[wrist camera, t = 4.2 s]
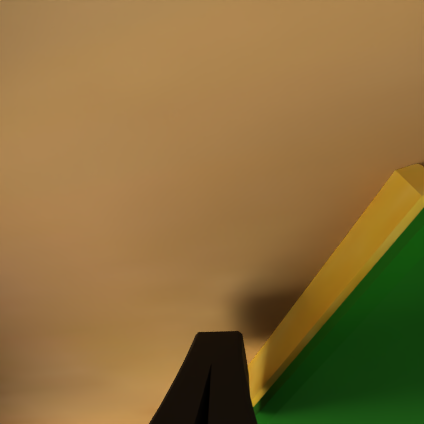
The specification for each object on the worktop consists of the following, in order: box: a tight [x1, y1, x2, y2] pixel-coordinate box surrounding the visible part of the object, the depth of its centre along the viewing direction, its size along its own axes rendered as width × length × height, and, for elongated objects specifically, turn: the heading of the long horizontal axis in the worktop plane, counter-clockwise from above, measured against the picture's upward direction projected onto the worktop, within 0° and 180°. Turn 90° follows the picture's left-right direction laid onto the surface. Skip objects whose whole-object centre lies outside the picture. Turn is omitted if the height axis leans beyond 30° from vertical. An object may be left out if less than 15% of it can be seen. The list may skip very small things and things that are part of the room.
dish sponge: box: [248, 163, 424, 424], centre depth 10 cm, size 7×14×2 cm, turn 158°
